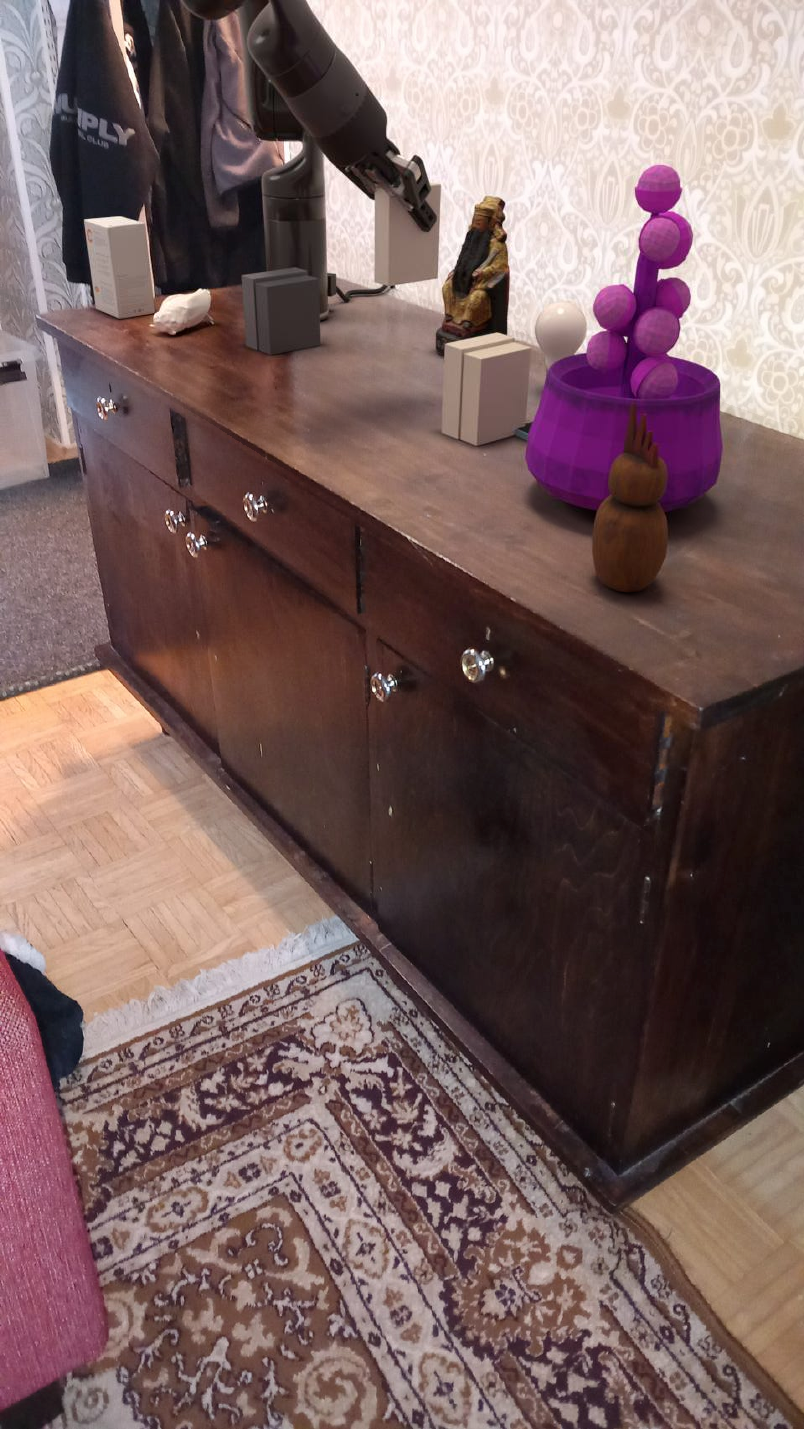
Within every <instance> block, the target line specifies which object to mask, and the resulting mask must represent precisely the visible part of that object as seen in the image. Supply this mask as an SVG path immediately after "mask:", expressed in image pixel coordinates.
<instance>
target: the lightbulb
mask: <svg viewBox="0 0 804 1429" xmlns="http://www.w3.org/2000/svg"><path fill="white" fill-rule="evenodd" d="M587 331H588V321H587V318H586V316H585V313H584V312H583V311H582V309H581V308H580V307H579V306H578V305H576V304H574V303H573V302H570V301H565V300H559V301H554V302H552V303H549V304H548V305H546V306H545V307H544V308H543V309H542V310H541V311H540V313H538V316H537V318H536V321H535V325H534V335H535V339H536V342H537V344H538V346H539V348H540V350H541V353H542V355H543V361H544V362H543V363H544V366H545V377H546V376H547V372H548V370H549V368H550V367H551V365H552V364H553V363H555V362H556V361H558V360H560V359H562V358H565V357H568V356H572V355H576V353H577V352H578V350H579V349H580V347H581V346H582V345H583V343H584V341H585V339H586V338H587Z"/></svg>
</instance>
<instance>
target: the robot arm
mask: <svg viewBox="0 0 804 1429" xmlns="http://www.w3.org/2000/svg"><path fill="white" fill-rule="evenodd" d="M179 1H180V2H181V4H182V5H183V6H184V7H185V8H186V9H187V11H188V12H189V13H191V14H192V15H193V16H195V17H198V18H199V19H202V20H205V21H210V22H211V21H218V20H221V19H224V18H226V17H229V15H231V14H233V13H234V12H236V15H237V19H238V20H237V21H238V26H239V32H240V39H241V50H242V61H243V75H244V89H245V100H246V110H247V117H248V121H249V125H250V128H251V131H252V133H253V135H254V136H255V137H256V138H258V140H261V141H266V142H283V143H285V142H286V143H287V142H293V143H301V144H302V148H301V150H300V152H298V154H297V155H295V156H294V157H293V158H292V159H291V160H289V161H287V162H286V163H283V164H281V165H278V166H276V167H273V168H270V169H268V170H266V171H264V172H263V173H262V176H261V193H262V195H261V196H262V198H261V199H262V211H263V213H262V215H263V233H264V246H265V247H264V249H265V250H264V252H265V270H266V271H265V272H268V271H274V270H281V269H288V268H295V267H296V268H299V269H302V270H306V271H307V275H308V276H312V277H315V278H318V279H319V305H320V321H323V320H325V319H327V318H329V316H330V309H329V297H330V298H332V297H333V296H336V295H338V296H339V298H340V299H341V300H343V302H349V301H350V297H351V296H359V295H363V296H365V295H367V296H368V295H379V294H381V293H383V292H385V291H386V290H387V289H388V287H389V288H390V289H396V285H393V286H386V285H381V286H380V287H378V288H371V289H367V288H366V289H364V288H363V289H361V288H360V289H350V290H348V291H346V292H345V293H344V292H343V290H341V289H340V287H339V286H337V273H333V272H328V241H327V240H328V239H327V238H328V237H327V205H326V204H327V203H326V202H327V201H326V200H327V199H326V176H325V157H326V159H327V160H328V162H330V163H331V165H333V166H334V167H335V168H336V169H337V170H338V171H340V173H342V174H343V175H344V176H345V177H346V178H347V179H348V180H349V181H350V182H351V183H352V184H353V185H355V186H356V187H357V188H358V189H359V190H360V191H361V192H362V193H363V194H364V195H365V196H366V197H368V199H370V200H372V201H375V188H376V186H381V188H382V189H383V190H384V191H385V192H386V193H387V195H388V196H390V197H392V198H397V199H398V201H399V202H400V203H401V204H402V205H403V207H404V208H405V209H406V210H407V211H408V213H409V214H410V215H411V217H412V218H413V219H414V221H415V222H416V223H417V225H418V226H419V228H420V229H421V230H422V231H423V232H429V231H430V230H431V229H432V227H433V226H434V224H435V223H436V221H437V215H436V214H435V213H434V211H433V210H432V208H431V207H430V206H429V204H428V203H427V201H426V200H425V199H426V197H427V196H428V195H429V193H430V192H431V187H430V183H429V182H430V181H429V180H430V179H429V177H428V173H427V170H426V166H425V163H424V160H423V159H422V157H420V156H419V155H417V154H414V155H413V156H412V157H411V159H407V158H406V157H404V156H402V155H401V151H400V149H399V148H398V147H397V146H396V145H395V143H394V142H393V141H391V140H390V139H389V138H388V136H387V127H388V115H387V112H386V109H385V108H384V107H383V106H382V104H381V103H380V101H379V100H378V98H377V97H376V96H375V95H374V92H372V90H371V89H370V87H369V86H368V84H367V83H366V81H365V80H364V79H363V77H362V76H361V75H360V73H359V71H358V70H357V68H356V67H355V66H354V65H353V63H352V61H351V60H350V59H349V58H348V56H346V54H345V53H344V52H343V51H342V50H341V49H340V48H339V47H338V46H337V44H336V43H335V42H334V40H333V38H332V37H331V36H330V35H329V33H328V32H327V30H326V29H325V27H324V26H323V25H322V23H321V22H320V20H319V19H318V17H317V16H316V15H315V13H314V12H313V10H312V9H311V7H310V5H309V3H308V1H307V0H179ZM392 185H393V186H392ZM404 189H405V190H406V193H407V196H408V197H406V196H405V195H404V193H403V191H404Z"/></svg>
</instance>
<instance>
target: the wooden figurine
mask: <svg viewBox="0 0 804 1429" xmlns="http://www.w3.org/2000/svg"><path fill="white" fill-rule="evenodd" d="M666 485H667V469H666V465H665V463H664V461H663V459H661V458H660V457H658V444H657V443H655V444H653V432H652V431H648V432H647V434H646V414H642V417H641V420H640V424H639V427H638V430H637V418H636V406H635V403H634V402H633V403H631V407H630V413H629V419H628V424H627V430H626V436H625V442H624V449H623V454H621V455H619V456H618V457H617V458H616V459H615V461H614V462H613V464H612V467H611V469H610V474H609V481H608V486H609V491H610V494H611V495H610V496H608V497H607V498H606V499H605V500H604V501H603V502H602V503H601V505H600V507H599V509H598V511H596V514H595V518H594V523H593V528H592V529H593V530H592V540H591V543H592V546H591V553H592V561H593V566H594V570H595V575H596V577H597V578H598V580H599V581H600V582H601V583H602V584H603V585H604V586H606V587H607V588H609V589H611V590H614V591H617V592H622V593H635V592H639V591H642V590H644V589H646V588H647V587H649V586H650V585H651V584H652V583H653V581H654V580H655V579H656V577H657V576H658V574H659V572H660V570H661V569H662V566H663V565H664V562H665V559H666V557H667V552H668V546H669V543H668V542H669V530H668V520H667V515H666V512H664V511H663V509H662V507H661V506H660V504H659V503H658V501H659V500H660V499H661V498H662V496H663V494H664V492H665V490H666Z"/></svg>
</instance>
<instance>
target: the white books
mask: <svg viewBox="0 0 804 1429" xmlns="http://www.w3.org/2000/svg"><path fill="white" fill-rule="evenodd" d="M515 340H516V339H515V337H514V336H510V335H508V334H507V335H504V334H501V333H493V334H488V335H484V336H479V337H475V338H470V339H465V340H461V341H456V342H451V343H447V344H445V355H443V357H444V358H443V359H444V360H443V382H442V383H443V384H442V385H443V386H442V387H443V388H442V409H441V410H442V413H441V416H442V417H441V418H442V419H441V434H443V435H446V436H447V437H451V438H452V439H455V440H461V441H463V442H465V443H468V444H470V445H473V446H475V447H478V446H482V445H485V444H489V443H492V442H496V441H499V440H502V439H506V438H510V437H513V436H516V435H515V431H516V428H520V427H524V426H525V423H527V421H526V420H527V408H528V397H529V396H528V395H529V383H530V372H531V371H530V370H531V360H532V359H531V358H532V347H531V346H528V345H524V344H521V343H518V342H515Z"/></svg>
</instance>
